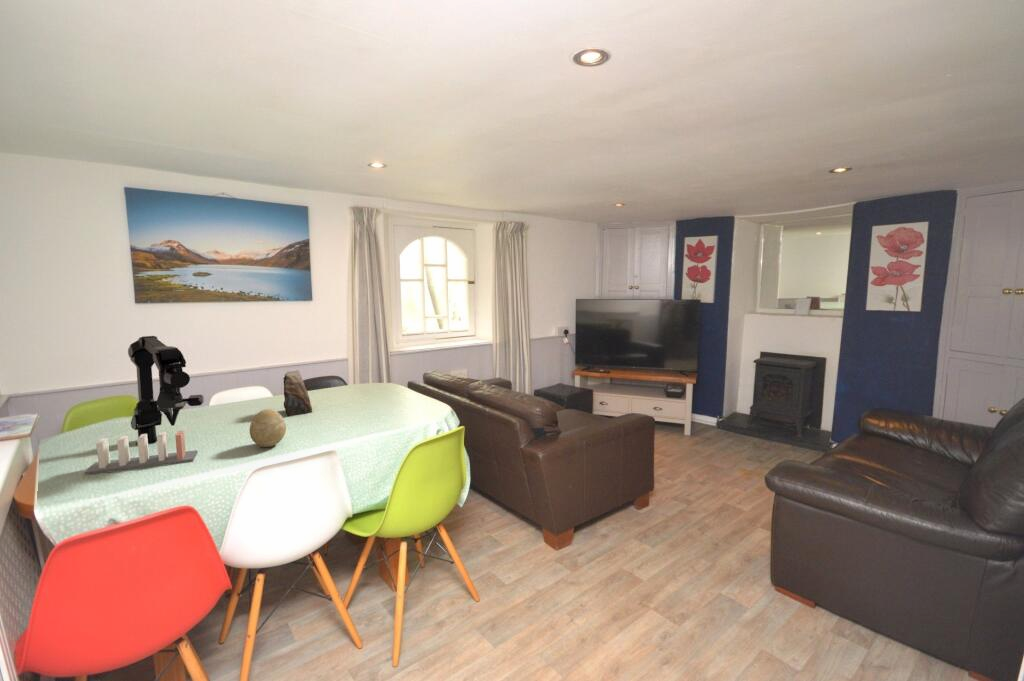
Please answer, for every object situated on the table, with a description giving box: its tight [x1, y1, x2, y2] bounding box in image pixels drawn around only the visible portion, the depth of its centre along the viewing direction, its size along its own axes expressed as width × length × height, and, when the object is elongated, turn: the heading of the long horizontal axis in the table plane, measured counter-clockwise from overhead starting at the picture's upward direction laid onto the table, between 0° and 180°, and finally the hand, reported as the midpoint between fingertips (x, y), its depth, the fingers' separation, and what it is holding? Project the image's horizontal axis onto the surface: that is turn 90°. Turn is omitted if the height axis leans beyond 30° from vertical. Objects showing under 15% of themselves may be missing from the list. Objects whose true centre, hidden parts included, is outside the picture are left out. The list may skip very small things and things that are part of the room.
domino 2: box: [116, 435, 131, 466], centre depth 159 cm, size 5×2×9 cm, turn 25°
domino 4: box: [156, 431, 169, 461], centre depth 164 cm, size 5×2×9 cm, turn 25°
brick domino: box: [174, 430, 186, 460], centre depth 166 cm, size 5×2×9 cm, turn 25°
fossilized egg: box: [249, 408, 287, 448], centre depth 180 cm, size 13×13×15 cm
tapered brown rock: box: [283, 370, 313, 417], centre depth 225 cm, size 13×13×20 cm
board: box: [83, 450, 199, 476], centre depth 162 cm, size 9×30×1 cm, turn 115°
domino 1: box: [95, 437, 111, 468], centre depth 157 cm, size 5×2×9 cm, turn 25°
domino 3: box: [136, 434, 150, 463], centre depth 162 cm, size 5×2×9 cm, turn 25°
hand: (173, 425), depth 165 cm, fingers closed
